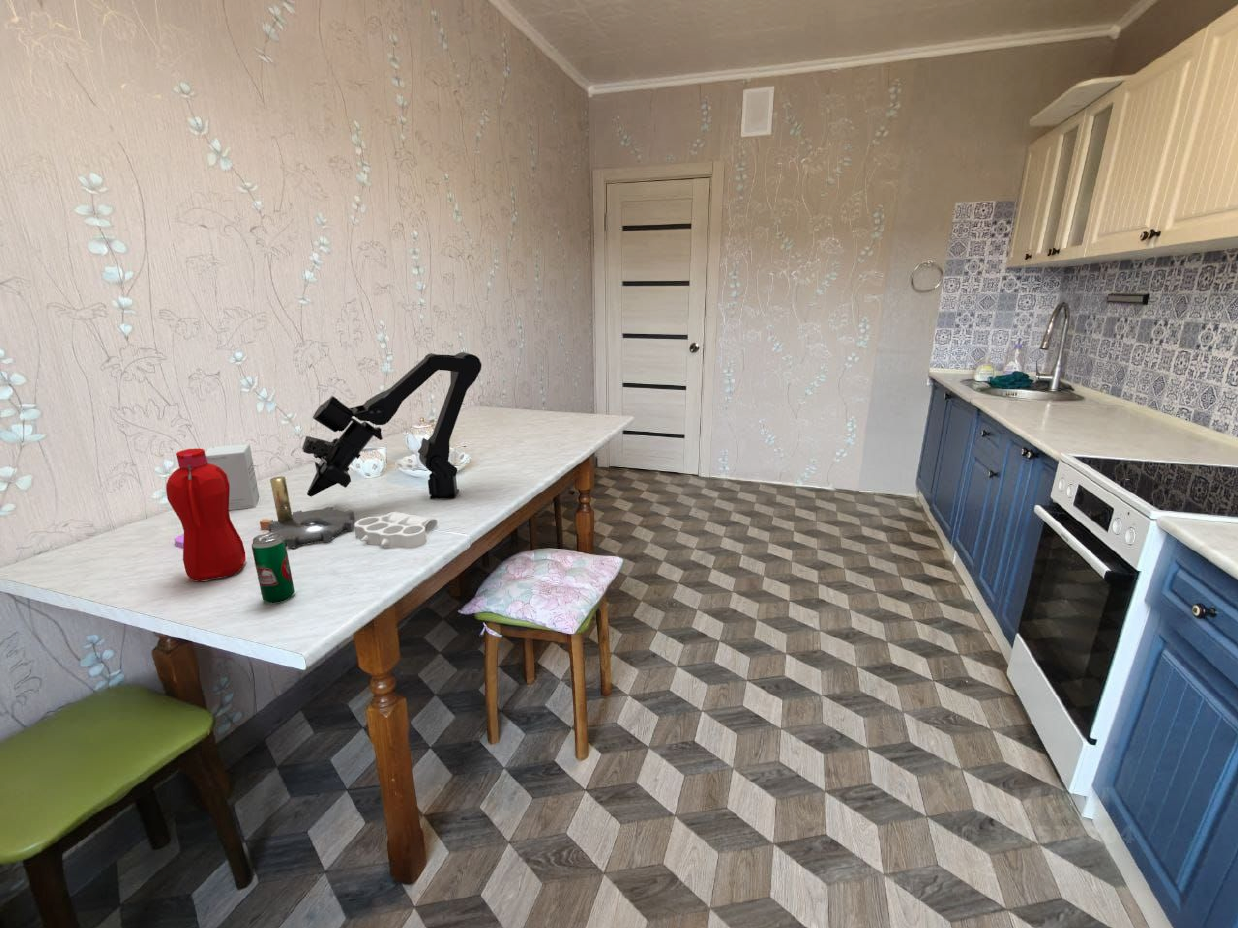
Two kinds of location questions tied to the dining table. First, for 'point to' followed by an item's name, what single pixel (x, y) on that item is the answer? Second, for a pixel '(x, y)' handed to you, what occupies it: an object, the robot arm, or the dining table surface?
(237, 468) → the supplement box
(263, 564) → the soda can
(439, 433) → the robot arm
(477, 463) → the dining table surface
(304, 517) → the sprocket
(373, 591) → the dining table surface
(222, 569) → the water bottle
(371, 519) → the white brass knuckles
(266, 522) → the orange rectangular block
